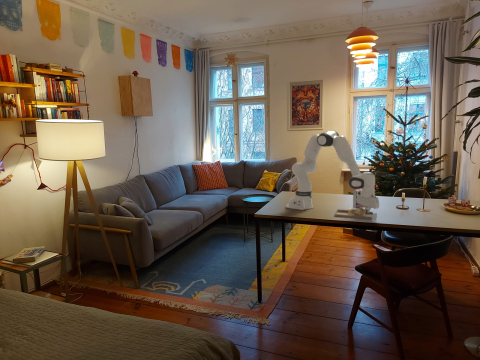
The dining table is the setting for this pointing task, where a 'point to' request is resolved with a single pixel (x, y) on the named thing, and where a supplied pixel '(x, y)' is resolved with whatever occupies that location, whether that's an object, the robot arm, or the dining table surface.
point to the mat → (344, 214)
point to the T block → (356, 211)
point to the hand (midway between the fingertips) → (367, 211)
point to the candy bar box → (355, 203)
